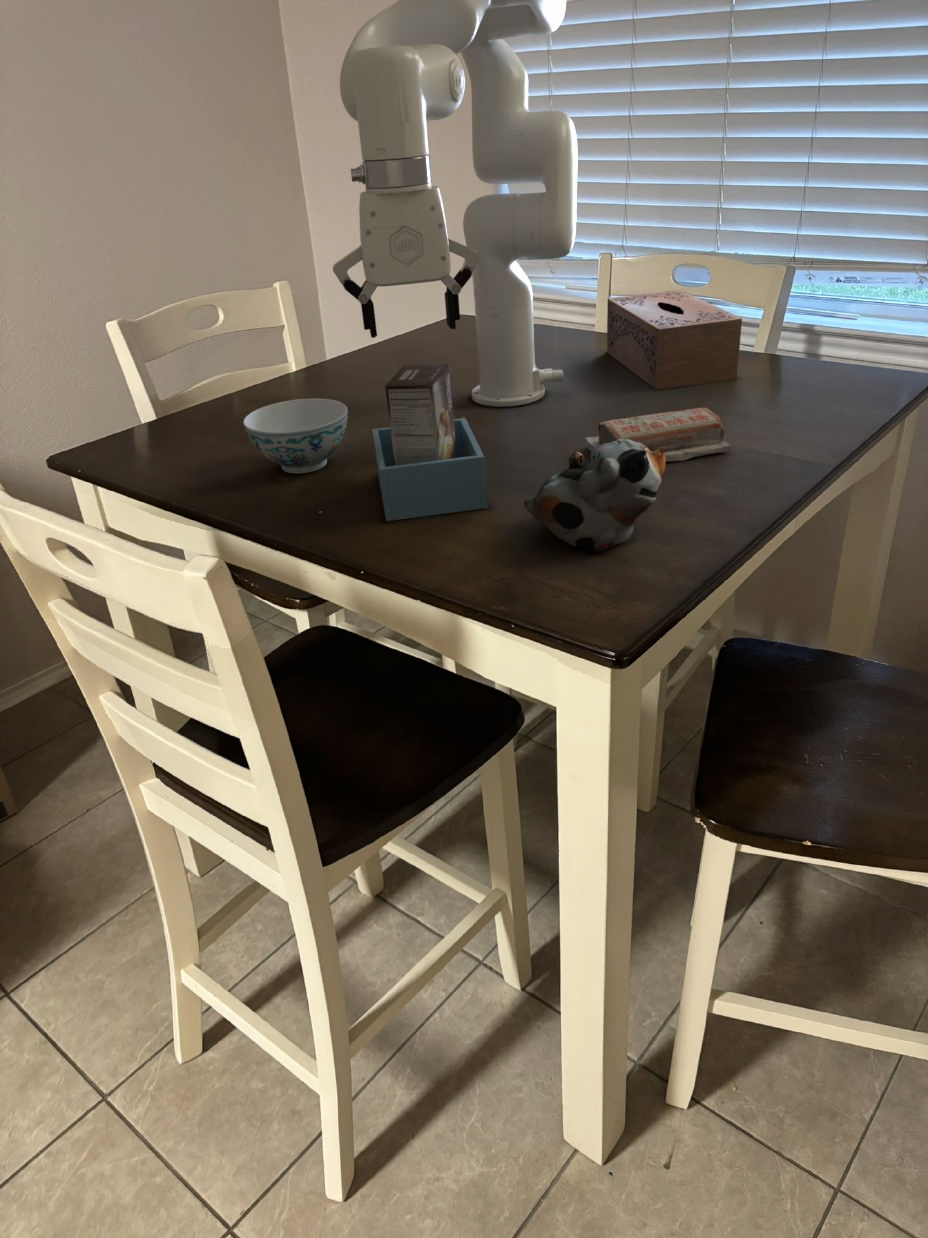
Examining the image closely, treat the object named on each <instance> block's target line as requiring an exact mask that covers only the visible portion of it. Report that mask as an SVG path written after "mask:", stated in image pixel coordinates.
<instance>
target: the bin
mask: <svg viewBox="0 0 928 1238" xmlns="http://www.w3.org/2000/svg"><path fill="white" fill-rule="evenodd" d="M454 428H455V439H456V450H457V458H452V459H444V460H437V461H429V462H421V463H413V464H405V465H397V466H395V461H394V453H393V445H392V437H391V429H390V426H388V427H387V426H385V427H379V428H372V429H371V435H372V441H373V450H374V457H375V463H376V473H377V479H378V483H379V490H380V495H381V500H382V506H383V511H384V517H385V521H386V522H392V521H399V520H406V519H407V520H408V519H414V518H421V517H422V518H423V517H429V516H436V515H444V514H451V513H452V514H453V513H458V512H467V511H474V510H476V511H477V510H481V509H483V510H484V509H488V496H487V495H488V494H487V481H486V466H485V465H486V464H485V456H484V454H483V451H482V449H481V448H480V445H479V444H478V441H477V439H476V437H475V435H474V433H473V431H472V429H471V426H470V424H469V423H468V421H467V419H466V417H461V418H454Z"/></svg>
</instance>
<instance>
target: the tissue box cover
mask: <svg viewBox="0 0 928 1238" xmlns="http://www.w3.org/2000/svg"><path fill="white" fill-rule="evenodd" d="M606 319H607V320H606V321H607V326H606V327H607V330H606V331H607V332H606V333H607V334H606V337H607V338H606V346H607V347H606V352H607V354H608V355H610V356H611V357H612V358H614V359H615V360H617V361H618V362H619V363H620V364H622V365H623V366H625V367H626V368H627V369H629V371H631V372H632V373H633V374H635V376H638V377H639V378H640V379H642V380H643V381H645V382H646V383H647V384H648V385H650V386H651V388H654V389H655V390H656V391H658V390H665V389H672V388H679V387H687V386H688V387H689V386H694V385H701V384H703V385H704V384H709V383H716V382H725V381H731V380H732V381H733V380H738V373H739V372H738V370H739V361H740V360H739V359H740V348H741V335H742V325H743V318H742V317H739V316H737V315H735V314H732V313H730V312H728V311H726V310H725V309H722V308H720V307H718V306H716V305H714V304H712V303H710V302H708V301H706V300H703V299H701V298H699V297H697V296H695V295H693V294H690V293H688V292H687V291H684V290H682V289H677V290H675V289H674V290H668V291H667V290H666V291H659V292H651V293H643V294H642V293H641V294H635V295H625V296H617V297H609V298H607V318H606Z"/></svg>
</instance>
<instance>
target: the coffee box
mask: <svg viewBox="0 0 928 1238" xmlns="http://www.w3.org/2000/svg"><path fill="white" fill-rule="evenodd" d="M450 371H451V370H450V364H449V363H435V364H429V363H428V364H404V365H403V366H402V367H400V369H399V370H397V372H396V373H395V374H394V375H393V377H392V378H391V379H390V380H389V381H388V382H387V383H386V384H385V386H384V389H385V395H386V397H385V398H386V403H387V412H388V421H389V427H390V429H391V437H392V445H393V453H394V461H395V466H397V465H405V464H413V463H421V462H429V461H437V460H444V459H452V458H457V450H456V439H455V428H454V419H455V418H454V407H453V395H452V393H453V392H452V383H451V382H452V381H451V372H450Z"/></svg>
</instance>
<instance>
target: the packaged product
mask: <svg viewBox="0 0 928 1238" xmlns="http://www.w3.org/2000/svg"><path fill="white" fill-rule="evenodd" d="M725 433H726V432H725V428H724V427H723V424H722V421H721V419H720V416H719V415H717V414H716V413H714V412H713V411H712V410H710V409H709V408H707V407H695V408H688V409H679V410H674V411H665V412H659V413H652V414H644V415H637V416H631V417H622V418H616V419H610V420H605V421H601V422H600V423H598V435H596V436H588V437H585V444H586V448H587V449H588V451H590V453H591V452H592V451H593V450H595V449H597V447H599V446H600V445H602V444H605V443H610V442H613V441H617V440H618V439H628V440H632V441H634V442H639V443H642V444H643V445H645V446H646V447H647V448H648V449H649V450H651V451H652V452H654V451H655V450H657V449H658V448H660V447H666V452H665V453H664V456H665V462H683V461H687V460H689V459H692V458H696V457H697V458H698V457H703V456H708V455H716V454H722V453H728V452H730V450H731V449H732V445H731V444H729V443H728V442H727V441H726V440H724V438H725Z"/></svg>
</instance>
